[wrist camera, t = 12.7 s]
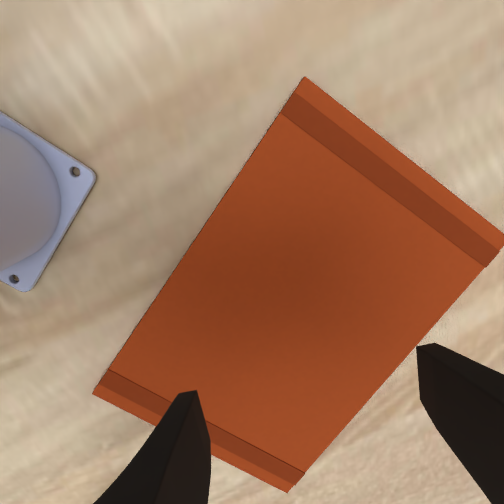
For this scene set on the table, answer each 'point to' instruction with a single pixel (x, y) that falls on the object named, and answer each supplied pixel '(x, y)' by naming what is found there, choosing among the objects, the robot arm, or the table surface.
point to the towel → (302, 291)
